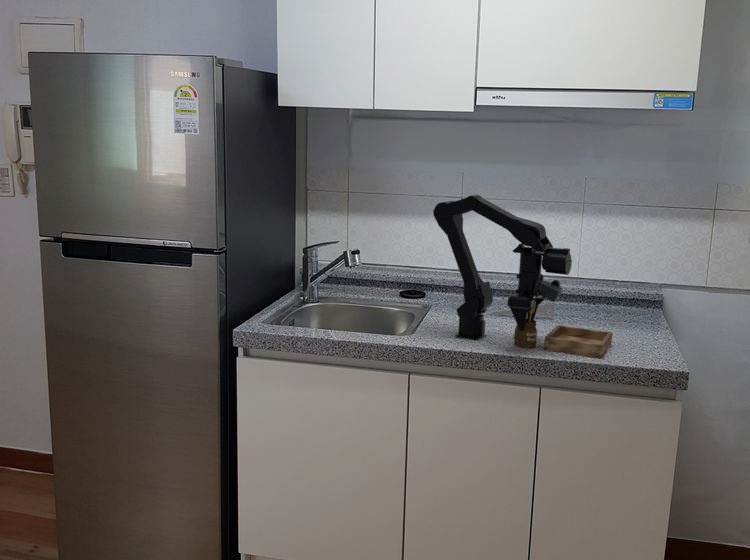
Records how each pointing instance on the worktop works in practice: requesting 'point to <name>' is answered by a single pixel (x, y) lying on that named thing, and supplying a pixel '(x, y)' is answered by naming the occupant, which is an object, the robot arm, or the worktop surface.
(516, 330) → the utensil holder
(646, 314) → the worktop surface
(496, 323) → the worktop surface
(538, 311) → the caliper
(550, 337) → the tray
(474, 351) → the worktop surface
